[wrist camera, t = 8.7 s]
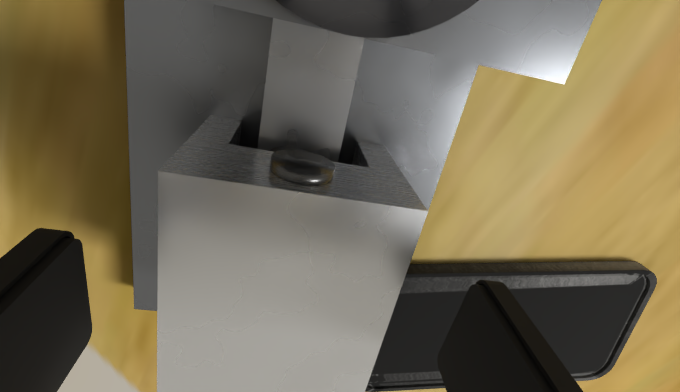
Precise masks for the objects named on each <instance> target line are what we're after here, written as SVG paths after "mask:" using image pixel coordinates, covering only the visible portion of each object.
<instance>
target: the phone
mask: <svg viewBox="0 0 680 392" xmlns="http://www.w3.org/2000/svg"><path fill="white" fill-rule="evenodd" d="M479 280H490V281H499V282H502V283H504V284H505V285H506V286H507V288H508V289H509V290H510V292H511V293H512V294H513V296H514V297H515V299H516V300H517V301H518V303H519V304H520V305H521V307H522V308H523V310H524V311H525V312H526V314H527V315H528V316H529V318H530V319H531V321H532V322H533V323H534V325H535V326H536V327H537V329H538V330H539V332H540V333H541V334H542V336H543V337H544V338H545V340H546V341H547V343H548V344H549V345H550V347H551V348H552V349H553V351H554V352H555V354H556V355H557V356H558V358H559V359H560V360H561V362H562V363H563V365H564V366H565V367H566V369H567V370H568V371H569V373H570V374H571V376H572V377H573V378H574V380H575V381H585V380H593V379H597V378H600V377H602V376H603V375H605V374H607V373H608V372H609V371H610V370H611V369H612V368H613V366H614V365H615V363H616V361H617V359H618V357H619V355H620V354H621V352H622V350H623V348H624V346H625V344H626V342H627V340H628V338H629V336H630V335H631V333H632V331H633V329H634V327H635V325H636V323H637V321H638V319H639V318H640V316H641V314H642V312H643V310H644V308H645V306H646V304H647V302H648V301H649V299H650V297H651V295H652V293H653V291H654V289H655V287H656V284H657V278H656V276H655V274H654V273H653V272H651V271H650V270H648V269H647V268H646V267H644V266H643V265H641V264H640V263H638V262H634V261H601V262H532V263H463V264H409V267H408V270H407V273H406V276H405V279H404V282H403V285H402V287H401V290H400V293H399V296H398V299H397V302H396V305H395V308H394V310H393V313H392V316H391V319H390V322H389V325H388V328H387V330H386V333H385V336H384V339H383V341H382V344H381V347H380V350H379V353H378V356H377V359H376V361H375V364H374V367H373V370H372V373H371V376H370V379H369V381H368V384H367V387H366V390H365V391H366V392H379V391H398V390H416V389H435V388H445V385H444V382H443V379H442V377H441V374H440V371H439V369H438V364H437V358H438V353H439V351H440V349H441V347H442V345H443V343H444V340H445V338H446V336H447V334H448V332H449V330H450V328H451V326H452V323H453V321H454V319H455V317H456V315H457V313H458V311H459V309H460V307H461V304H462V302H463V300H464V298H465V296H466V294H467V292H468V290H469V288H470V286H471V285H473V284H476V282H477V281H479Z"/></svg>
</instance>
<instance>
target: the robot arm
mask: <svg viewBox="0 0 680 392" xmlns="http://www.w3.org/2000/svg"><path fill="white" fill-rule="evenodd" d="M91 333H92V322H91V314H90V305H89V297H88V289H87V281H86V272H85V264H84V256H83V248H82V243H81V241H80V240H79V239H75V238H74V235H73V234H72V233H71V232H69V231H61V230H53V229H44V228H39V229H36V230H34V231H33V232H32V233H30V234H29V235H28V236H27V237H26V238H24V239H23V240H22V241H21V242H20V243H18V244H17V245H16V246H15V247H14V248H12V249H11V250H10V251H9V252H7V253H6V254H5V255H4V256H3V257H1V258H0V392H57V391H58V389H59V387H60V386H61V384H62V383H63V381H64V380H65V378H66V377H67V375H68V373H69V372H70V370H71V369H72V367H73V366H74V364H75V363H76V361H77V359H78V358H79V356H80V355H81V353H82V352H83V350H84V349H85V347H86V345H87V344H88V342H89V339H90V337H91ZM437 364H438V369H439V371H440V374H441V377H442V379H443V382H444V385H445V388H446V390H447V392H583V391H582V389H581V388H580V387H579V385H578V384H577V382H576V381H575V380H574V378H573V377H572V376H571V374H570V373H569V371H568V370H567V369H566V367H565V366H564V365H563V363H562V362H561V360H560V359H559V358H558V356H557V355H556V354H555V352H554V351H553V349H552V348H551V347H550V345H549V344H548V343H547V341H546V340H545V338H544V337H543V336H542V334H541V333H540V332H539V330H538V329H537V327H536V326H535V325H534V323H533V322H532V321H531V319H530V318H529V316H528V315H527V314H526V312H525V311H524V310H523V308H522V307H521V305H520V304H519V303H518V301H517V300H516V299H515V297H514V296H513V294H512V293H511V292H510V290H509V289H508V288H507V286H506V285H505V284H504V283H502V282H499V281H490V280H479V281H477V282H476V284H473V285H471V286H470V288H469V290H468V292H467V294H466V296H465V298H464V300H463V302H462V304H461V307H460V309H459V311H458V313H457V315H456V317H455V319H454V321H453V323H452V326H451V328H450V330H449V332H448V334H447V336H446V338H445V340H444V343H443V345H442V347H441V349H440V351H439V353H438V358H437Z"/></svg>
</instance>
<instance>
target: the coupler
mask: <svg viewBox="0 0 680 392" xmlns="http://www.w3.org/2000/svg"><path fill="white" fill-rule="evenodd" d="M601 1H602V0H124V12H125V43H126V73H127V103H128V133H129V164H130V194H131V224H132V254H133V284H134V309H141V310H153V311H157V292H158V171H159V170H160V169H161V167H162V166H163V165H164V164H165V163H166V162H167V161H168V160H169V159H170V158H171V157H172V156H173V155H174V154H175V153H176V152H177V150H178V149H179V148H180V147H181V146H182V145H183V144H184V143H185V142H186V141H187V140H188V139H189V138H190V137H191V136H192V134H193V133H194V132H195V131H196V130H197V129H198V128H199V127H200V126H201V125H202V124H203V123H204V122H205V121H206V120H207V118H208V117H209V116H210V115H214V116H220V117H226V118H231V119H237V120H242V124H241V134H240V144H239V146H243V147H249V148H255V149H261V150H267V151H273V152H276V151H279V150H302V151H307V152H312V153H315V154H318V155H321V156H323V157H325V158H327V159H329V160H330V161H333V162H339V163H345V164H351V165H352V161H353V156H354V152H355V148H356V144H357V141H360V142H366V143H371V144H377V145H382V146H385V148H386V149H387V151H388V152H389V154H390V155H391V157H392V158H393V160H394V161H395V163H396V164H397V166H398V167H399V169H400V170H401V172H402V173H403V175H404V176H405V178H406V179H407V181H408V182H409V184H410V185H411V187H412V188H413V190H414V191H415V192H416V194H417V195H418V197H419V198H420V200H421V201H422V203H423V204H424V206H425V207H426V209H427V210H429V207H430V204H431V201H432V198H433V195H434V192H435V189H436V186H437V184H438V181H439V178H440V175H441V172H442V169H443V166H444V163H445V161H446V158H447V155H448V152H449V149H450V146H451V143H452V140H453V137H454V135H455V132H456V129H457V126H458V123H459V120H460V117H461V114H462V111H463V109H464V106H465V103H466V100H467V97H468V94H469V91H470V88H471V86H472V83H473V80H474V77H475V74H476V71H477V68H478V65H482V66H486V67H490V68H495V69H499V70H504V71H508V72H512V73H517V74H521V75H526V76H530V77H534V78H539V79H543V80H547V81H552V82H556V83H561V84H565V81H566V79H567V77H568V75H569V72H570V70H571V68H572V66H573V63H574V61H575V59H576V57H577V55H578V52H579V50H580V48H581V46H582V43H583V41H584V39H585V37H586V35H587V32H588V30H589V28H590V26H591V23H592V21H593V19H594V17H595V14H596V12H597V10H598V8H599V6H600V3H601ZM403 282H404V281H403ZM402 285H403V284H402ZM396 302H397V301H396ZM395 305H396V304H395ZM394 308H395V307H394ZM389 322H390V321H389ZM388 325H389V324H388ZM387 328H388V327H387Z"/></svg>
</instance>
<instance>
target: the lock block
mask: <svg viewBox="0 0 680 392" xmlns="http://www.w3.org/2000/svg"><path fill="white" fill-rule="evenodd" d="M241 124H242V120H237V119H231V118H226V117H220V116H214V115H210V116H209V117H208V118H207V120H206V121H205V122H204V123H203V124H202V125H201V126H200V127H199V128H198V129H197V130H196V131H195V132H194V133H193V134H192V136H191V137H190V138H189V139H188V140H187V141H186V142H185V143H184V144H183V145H182V146H181V147H180V148H179V149H178V150H177V152H176V153H175V154H174V155H173V156H172V157H171V158H170V159H169V160H168V161H167V162H166V163H165V164H164V165H163V166H162V167H161V169H160V170H159V171H158V292H157V392H365V390H366V387H367V384H368V381H369V379H370V376H371V373H372V370H373V367H374V364H375V361H376V359H377V356H378V353H379V350H380V347H381V344H382V341H383V339H384V336H385V333H386V330H387V327H388V324H389V321H390V319H391V316H392V313H393V310H394V307H395V304H396V301H397V299H398V296H399V293H400V290H401V287H402V284H403V281H404V279H405V276H406V273H407V270H408V267H409V264H410V261H411V259H412V256H413V253H414V250H415V247H416V244H417V242H418V239H419V236H420V233H421V230H422V227H423V224H424V222H425V219H426V216H427V213H428V210H427V209H426V207H425V206H424V204H423V203H422V201H421V200H420V198H419V197H418V195H417V194H416V192H415V191H414V190H413V188H412V187H411V185H410V184H409V182H408V181H407V179H406V178H405V176H404V175H403V173H402V172H401V170H400V169H399V167H398V166H397V164H396V163H395V161H394V160H393V158H392V157H391V155H390V154H389V152H388V151H387V149H386V148H385V146H382V145H377V144H371V143H366V142H360V141H357V144H356V148H355V152H354V156H353V161H352V165H351V164H345V163H339V162H333V161H330V160H329V159H327V158H325V157H323V156H321V155H318V154H315V153H312V152H307V151H302V150H279V151H276V152H273V151H267V150H261V149H255V148H249V147H243V146H239V144H240V134H241Z"/></svg>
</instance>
